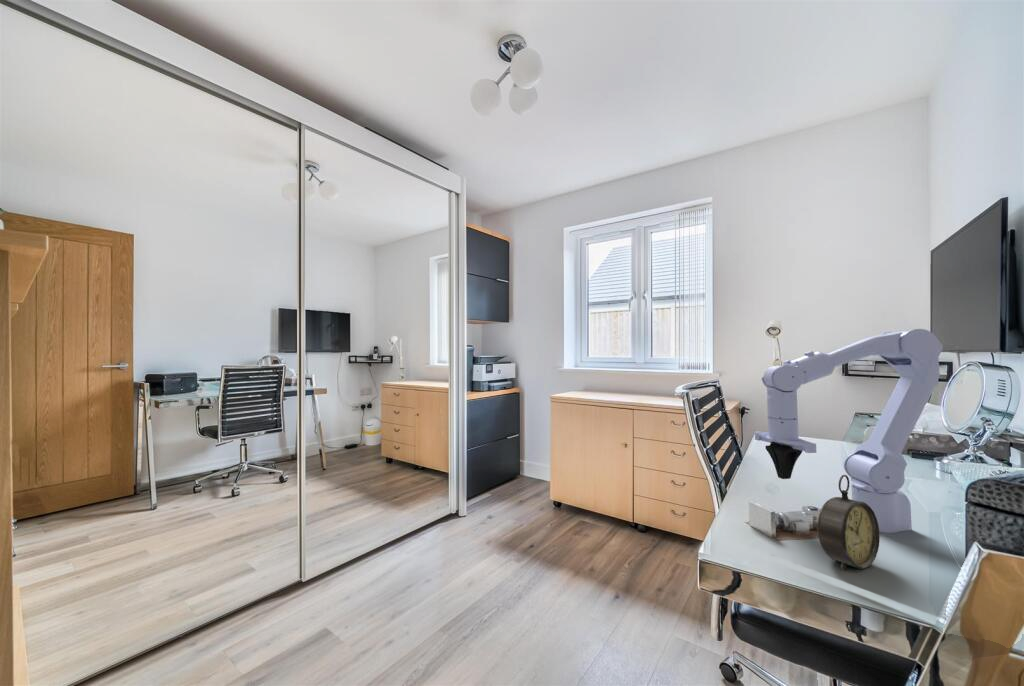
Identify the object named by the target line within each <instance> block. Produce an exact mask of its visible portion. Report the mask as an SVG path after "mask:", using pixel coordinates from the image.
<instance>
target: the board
mask: <svg viewBox="0 0 1024 686" xmlns="http://www.w3.org/2000/svg"><path fill="white" fill-rule="evenodd" d="M744 523H745V524H746V525H748V526H750V527H752V526H751V525H750V522H749V521H744ZM754 529H755V530H757V531H759V530H758V529H756V528H754ZM763 534H764V535H766V536H768V535H767V534H765V533H763ZM771 539H774V540H775V541H777V542H778V541H779V542H781V541H782V542H783V541H795V540H798V541H799V540H809V539H810V540H814V539H819V536H818V530H815V529H809V534H801V535H796V534H794V533H792V531H788V530H776V537H771Z"/></svg>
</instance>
